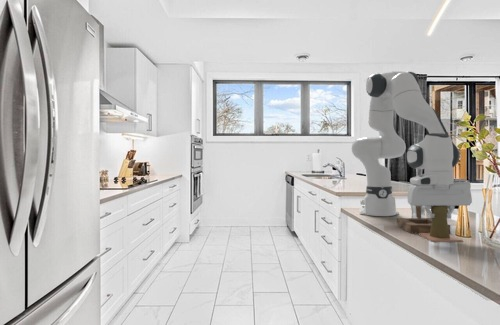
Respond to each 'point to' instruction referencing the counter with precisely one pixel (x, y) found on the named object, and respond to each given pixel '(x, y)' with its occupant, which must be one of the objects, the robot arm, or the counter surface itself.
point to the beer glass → (418, 211)
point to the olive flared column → (439, 222)
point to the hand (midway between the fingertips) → (439, 218)
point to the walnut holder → (416, 224)
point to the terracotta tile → (433, 239)
